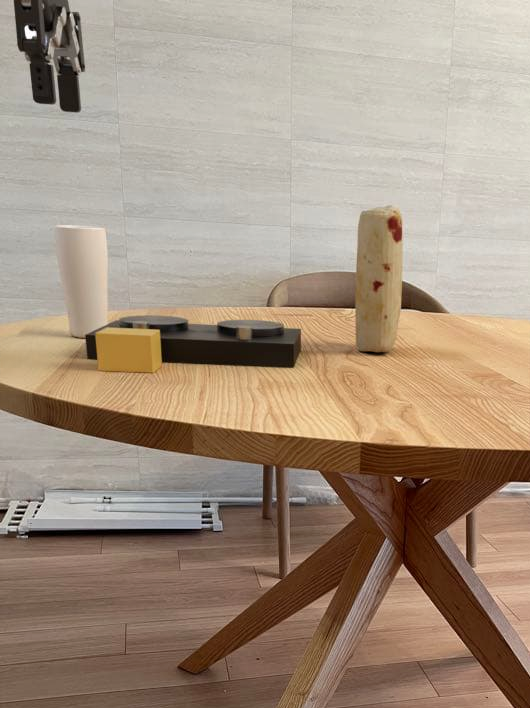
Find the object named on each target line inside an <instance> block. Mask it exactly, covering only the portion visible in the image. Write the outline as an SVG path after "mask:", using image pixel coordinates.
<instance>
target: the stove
mask: <svg viewBox="0 0 530 708" xmlns="http://www.w3.org/2000/svg"><path fill="white" fill-rule="evenodd" d="M107 327H109V328H132V329H154V330H160V341H161V358H162V363H177V364H202V365H203V364H204V365H221V366H222V365H224V366H244V367H245V366H249V367H271V368H272V367H273V368H292V369H293V368H295V367H296V364H297V360H298V358H299V356H300V353H301V351H302V329H301V328H293V327H291V328H289V327H285V324H283V323H281V322H277V321H271V320H262V319H228V320H227V319H226V320H221V321H217V323H216V324H206V323H205V324H204V323H189V319H187V318H184V317H181V316H173V315H172V316H171V315H153V314H152V315H151V314H150V315H146V314H145V315H129V316H128V315H127V316H123V317H120V318H118V320H113V321H111V322H108V324H107V325H105V326H103V327H101V328H99V329H96V330H94V331H92V332H90V333H88V334H86V335H85V338H84V339H85V348H86V349H85V350H86V359H87V360H98V359H97V348H96V336H95V333H97V332H99V331H101V330H103V329H105V328H107Z"/></svg>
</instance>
